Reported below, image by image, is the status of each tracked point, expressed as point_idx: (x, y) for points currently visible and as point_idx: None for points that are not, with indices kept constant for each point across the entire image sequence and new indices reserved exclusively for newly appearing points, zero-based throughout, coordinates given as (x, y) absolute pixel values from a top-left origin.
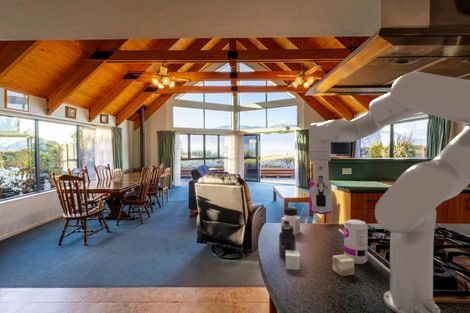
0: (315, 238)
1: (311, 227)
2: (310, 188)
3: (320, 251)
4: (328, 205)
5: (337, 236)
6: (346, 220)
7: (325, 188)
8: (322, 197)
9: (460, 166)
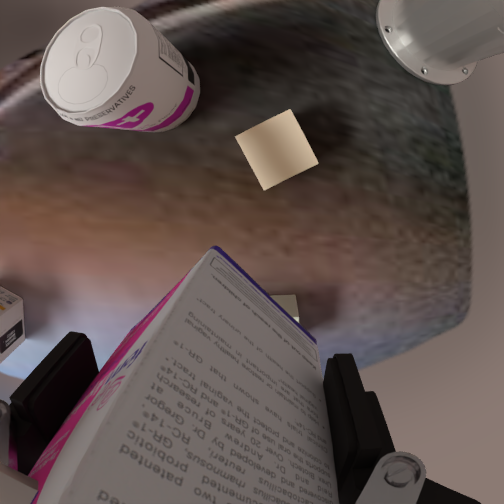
0: (19, 230)
1: None
2: None
3: (118, 217)
4: (246, 312)
5: None
6: (61, 110)
7: None
8: (390, 452)
9: None
